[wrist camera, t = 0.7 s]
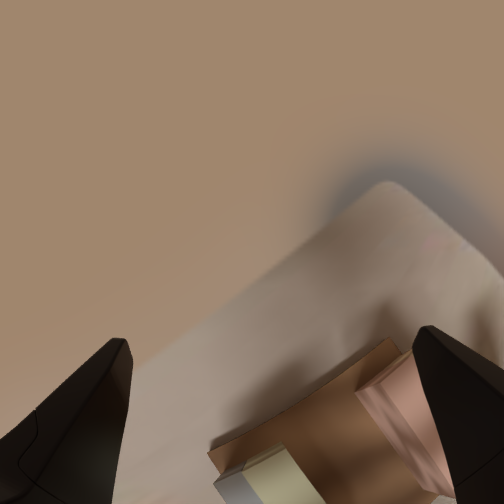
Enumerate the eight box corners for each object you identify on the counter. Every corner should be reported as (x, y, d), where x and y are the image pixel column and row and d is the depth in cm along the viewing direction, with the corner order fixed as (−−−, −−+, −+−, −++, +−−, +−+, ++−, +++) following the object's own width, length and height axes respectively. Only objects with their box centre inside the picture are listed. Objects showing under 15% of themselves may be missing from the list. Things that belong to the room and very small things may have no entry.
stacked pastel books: (467, 459, 17) (514, 459, 11) (307, 577, 13) (318, 614, 7) (385, 339, 25) (418, 312, 19) (209, 451, 20) (188, 462, 14)
